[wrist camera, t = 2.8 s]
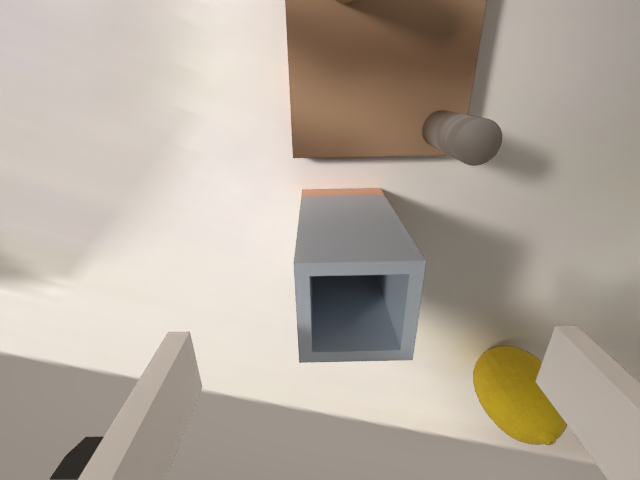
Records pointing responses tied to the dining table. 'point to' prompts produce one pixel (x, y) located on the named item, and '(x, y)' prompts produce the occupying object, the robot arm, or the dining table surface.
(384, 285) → the sleeve
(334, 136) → the pin board
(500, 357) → the lemon
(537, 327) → the dining table surface
